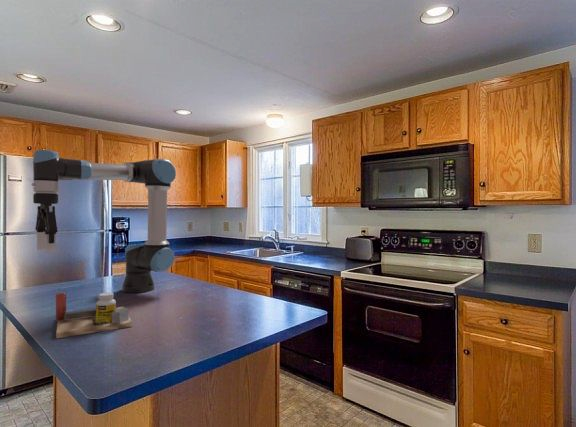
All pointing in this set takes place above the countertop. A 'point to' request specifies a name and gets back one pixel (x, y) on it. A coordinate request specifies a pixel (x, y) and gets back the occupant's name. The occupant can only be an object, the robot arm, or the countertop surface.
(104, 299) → the pill bottle
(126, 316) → the grey angular block
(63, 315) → the lever
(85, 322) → the tan flat square sheet
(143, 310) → the countertop surface
